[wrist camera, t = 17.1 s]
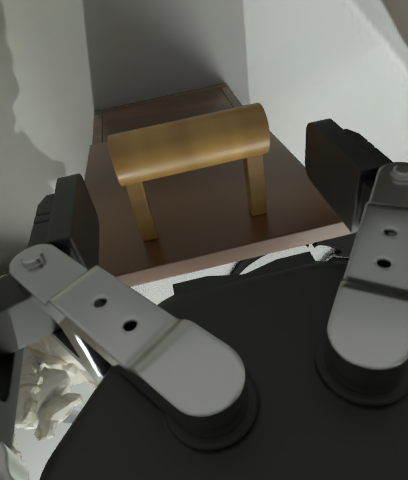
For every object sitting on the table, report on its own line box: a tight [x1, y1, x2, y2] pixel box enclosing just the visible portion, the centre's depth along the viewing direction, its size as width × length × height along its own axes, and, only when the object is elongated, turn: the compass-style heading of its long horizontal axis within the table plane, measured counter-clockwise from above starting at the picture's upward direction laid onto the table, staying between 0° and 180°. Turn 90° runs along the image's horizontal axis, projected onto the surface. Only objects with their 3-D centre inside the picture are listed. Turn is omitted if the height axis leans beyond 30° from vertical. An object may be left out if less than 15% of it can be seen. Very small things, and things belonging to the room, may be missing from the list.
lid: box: [84, 103, 352, 287], centre depth 21 cm, size 16×12×6 cm
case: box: [92, 83, 243, 145], centre depth 37 cm, size 15×12×7 cm
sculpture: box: [0, 274, 98, 459], centre depth 39 cm, size 21×20×25 cm
